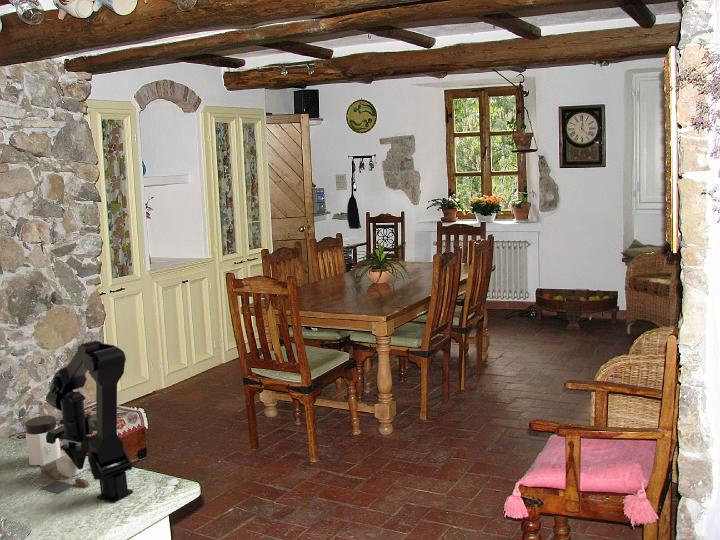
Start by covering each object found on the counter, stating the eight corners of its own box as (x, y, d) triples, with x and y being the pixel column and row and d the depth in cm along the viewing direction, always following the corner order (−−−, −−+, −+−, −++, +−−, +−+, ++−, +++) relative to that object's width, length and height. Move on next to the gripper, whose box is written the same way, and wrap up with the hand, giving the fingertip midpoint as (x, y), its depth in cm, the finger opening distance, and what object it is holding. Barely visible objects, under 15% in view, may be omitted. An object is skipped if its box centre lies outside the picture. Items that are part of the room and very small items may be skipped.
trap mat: (73, 485, 198) (73, 484, 198) (58, 493, 194) (57, 492, 194) (56, 480, 202) (56, 480, 202) (40, 488, 197) (40, 487, 197)
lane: (115, 472, 205) (114, 463, 205) (85, 487, 196) (84, 478, 196) (71, 461, 214) (70, 452, 214) (41, 475, 206) (40, 466, 205)
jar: (35, 469, 210) (29, 428, 208) (24, 461, 216) (19, 421, 214) (66, 458, 216) (61, 419, 214) (55, 451, 222) (50, 412, 220)
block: (84, 469, 208) (83, 456, 207) (69, 477, 203) (68, 463, 203) (72, 466, 210) (71, 453, 209) (57, 474, 206) (55, 460, 205)
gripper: (121, 409, 204) (127, 463, 207) (75, 400, 213) (81, 452, 216) (88, 423, 194) (94, 479, 197) (41, 413, 204) (48, 467, 207)
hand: (80, 468), depth 204 cm, fingers closed
